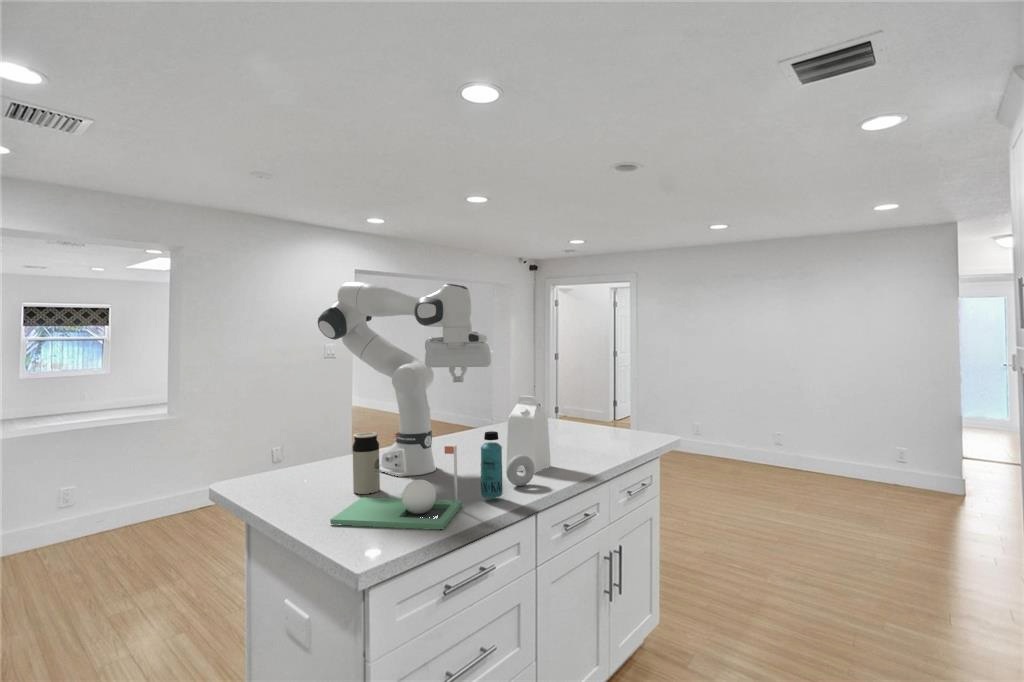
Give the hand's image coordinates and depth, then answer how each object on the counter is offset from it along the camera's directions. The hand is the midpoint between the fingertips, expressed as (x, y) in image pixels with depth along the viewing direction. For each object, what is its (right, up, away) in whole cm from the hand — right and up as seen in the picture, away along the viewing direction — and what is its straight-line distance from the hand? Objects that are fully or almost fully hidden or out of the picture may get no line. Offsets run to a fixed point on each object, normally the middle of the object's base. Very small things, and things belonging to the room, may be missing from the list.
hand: (458, 382), depth 155 cm
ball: (-9, -30, -17) cm, 35 cm away
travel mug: (-29, -35, +4) cm, 46 cm away
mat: (-14, -35, -18) cm, 41 cm away
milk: (+22, -34, +29) cm, 50 cm away
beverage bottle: (+11, -34, -7) cm, 36 cm away
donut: (+19, -34, +7) cm, 40 cm away
